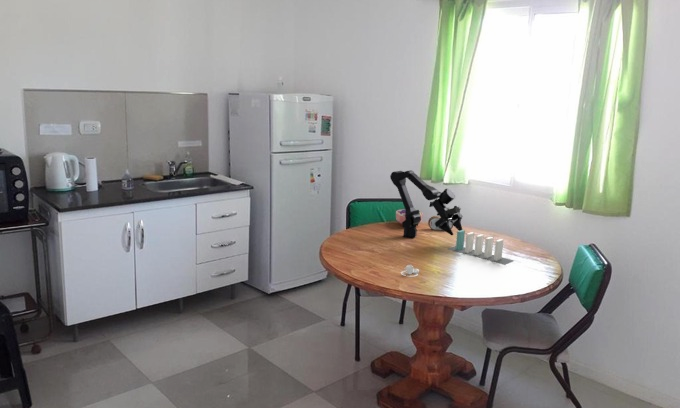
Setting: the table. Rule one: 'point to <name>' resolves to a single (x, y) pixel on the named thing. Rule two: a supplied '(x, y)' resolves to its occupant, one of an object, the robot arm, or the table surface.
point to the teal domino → (460, 240)
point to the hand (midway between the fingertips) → (457, 233)
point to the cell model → (403, 215)
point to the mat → (501, 261)
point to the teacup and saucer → (410, 270)
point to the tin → (432, 223)
